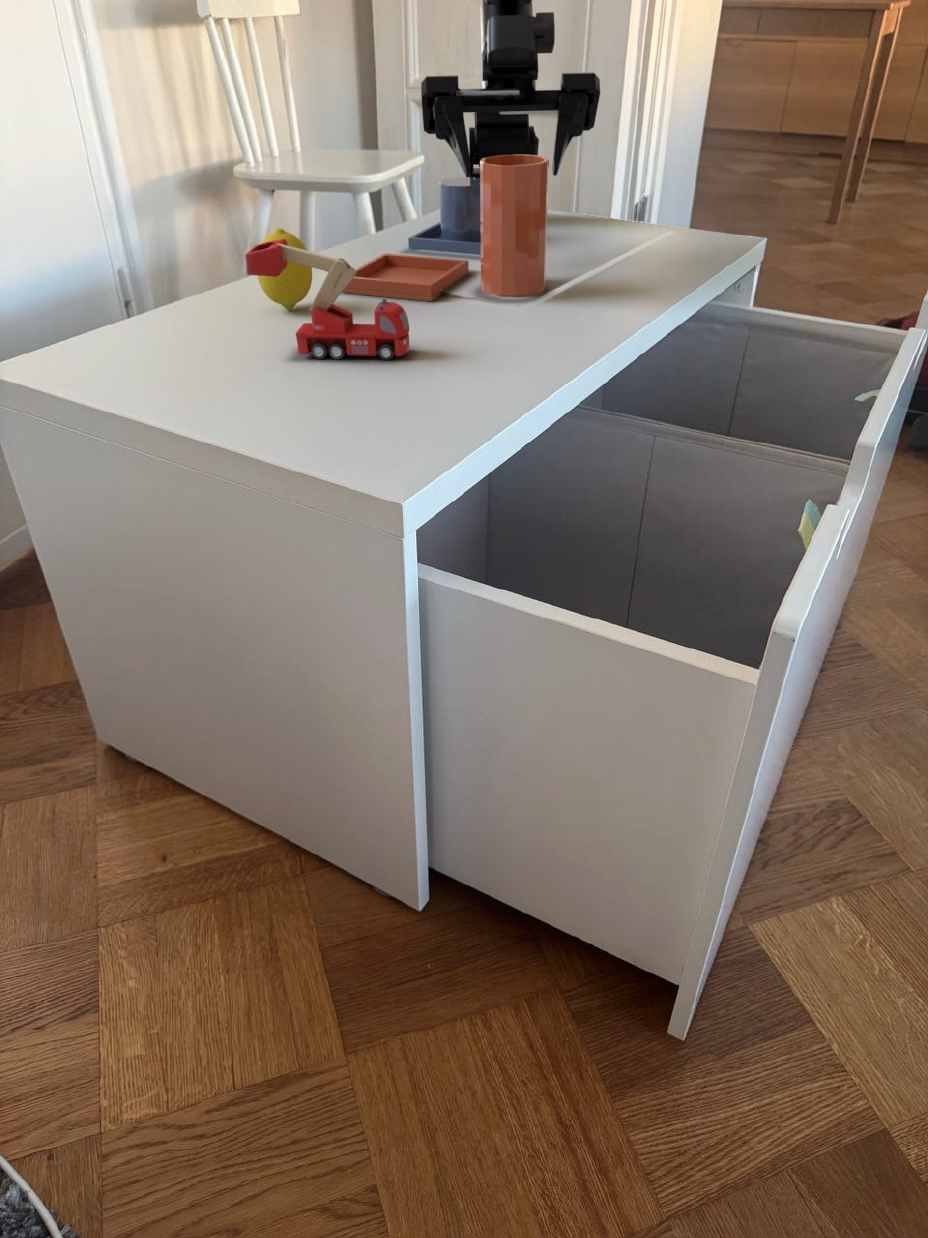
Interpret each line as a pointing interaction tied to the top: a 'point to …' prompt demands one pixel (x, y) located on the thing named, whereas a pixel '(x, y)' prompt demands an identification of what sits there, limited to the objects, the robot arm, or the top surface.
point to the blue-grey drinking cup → (460, 209)
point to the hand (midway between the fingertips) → (511, 173)
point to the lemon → (287, 276)
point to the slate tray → (441, 242)
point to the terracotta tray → (406, 276)
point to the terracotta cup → (513, 224)
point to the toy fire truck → (334, 307)
